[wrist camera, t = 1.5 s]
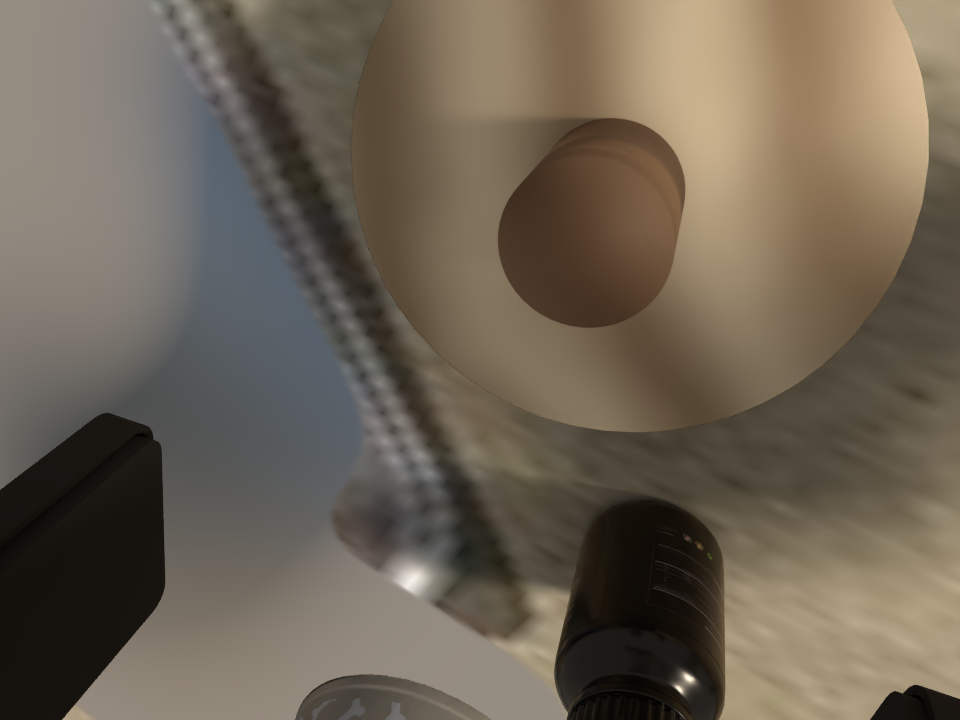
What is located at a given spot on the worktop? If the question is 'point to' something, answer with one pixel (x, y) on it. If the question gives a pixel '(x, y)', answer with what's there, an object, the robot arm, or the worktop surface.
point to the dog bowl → (382, 701)
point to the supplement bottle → (644, 619)
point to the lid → (639, 193)
